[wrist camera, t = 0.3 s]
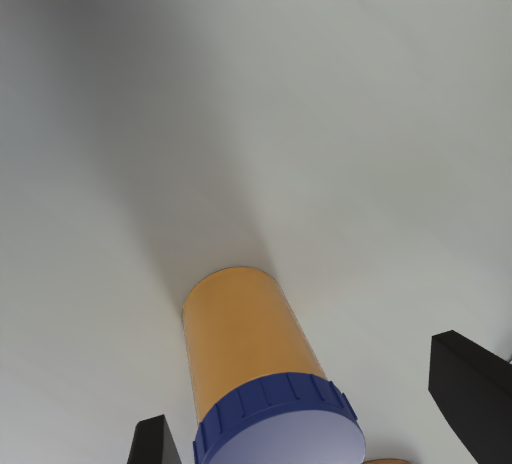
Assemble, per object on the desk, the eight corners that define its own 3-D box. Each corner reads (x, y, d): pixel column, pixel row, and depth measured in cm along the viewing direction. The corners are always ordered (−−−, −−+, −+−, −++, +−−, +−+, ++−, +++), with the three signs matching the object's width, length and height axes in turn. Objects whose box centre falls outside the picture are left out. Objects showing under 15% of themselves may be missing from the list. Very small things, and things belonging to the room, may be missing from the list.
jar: (303, 291, 23) (383, 427, 15) (247, 364, 24) (295, 521, 17) (219, 249, 20) (266, 385, 13) (161, 332, 22) (174, 497, 14)
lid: (377, 397, 16) (399, 433, 15) (287, 496, 18) (300, 537, 16) (255, 348, 14) (268, 386, 12) (161, 467, 15) (164, 513, 14)
